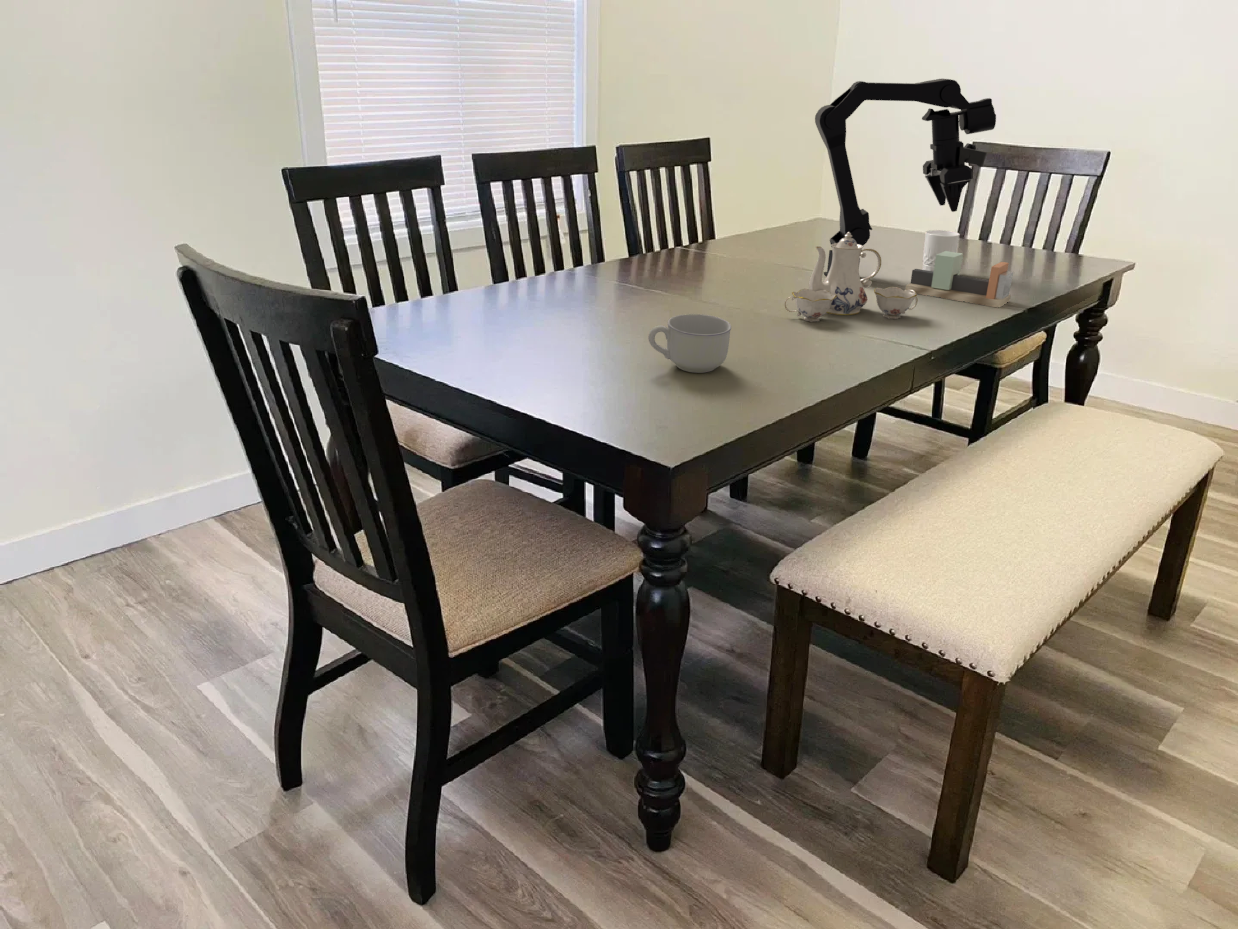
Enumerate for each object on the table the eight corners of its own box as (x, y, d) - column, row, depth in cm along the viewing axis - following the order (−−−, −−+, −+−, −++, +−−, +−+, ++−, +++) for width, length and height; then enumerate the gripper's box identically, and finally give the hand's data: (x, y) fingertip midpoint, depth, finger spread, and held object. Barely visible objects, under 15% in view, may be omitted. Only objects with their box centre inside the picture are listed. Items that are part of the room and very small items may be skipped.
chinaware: (799, 335, 181) (811, 253, 173) (765, 306, 195) (775, 228, 186) (924, 327, 188) (942, 247, 180) (883, 299, 202) (898, 224, 193)
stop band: (985, 297, 198) (991, 266, 195) (995, 292, 203) (1001, 261, 200) (993, 299, 197) (999, 267, 194) (1002, 293, 202) (1008, 262, 199)
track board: (905, 291, 208) (906, 285, 208) (917, 286, 213) (918, 279, 213) (999, 307, 197) (1000, 300, 196) (1009, 301, 202) (1010, 294, 201)
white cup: (948, 271, 229) (955, 230, 225) (956, 278, 222) (963, 236, 217) (916, 270, 229) (922, 229, 225) (922, 277, 222) (929, 235, 218)
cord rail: (910, 283, 210) (912, 270, 208) (913, 281, 211) (915, 268, 210) (997, 297, 199) (999, 283, 197) (1000, 295, 200) (1002, 282, 199)
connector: (995, 298, 198) (999, 274, 196) (1002, 294, 201) (1006, 270, 199) (1001, 299, 197) (1006, 275, 195) (1008, 295, 200) (1013, 271, 198)
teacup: (723, 357, 162) (726, 313, 159) (732, 378, 152) (736, 331, 149) (645, 357, 162) (646, 313, 158) (648, 377, 152) (650, 330, 148)
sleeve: (931, 287, 205) (936, 254, 202) (940, 282, 209) (945, 250, 206) (948, 290, 203) (954, 257, 200) (957, 285, 207) (963, 253, 204)
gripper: (996, 135, 198) (997, 208, 204) (969, 128, 215) (970, 196, 221) (943, 144, 199) (946, 217, 205) (920, 137, 216) (923, 204, 222)
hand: (948, 208), depth 213 cm, fingers open, 9 cm apart
